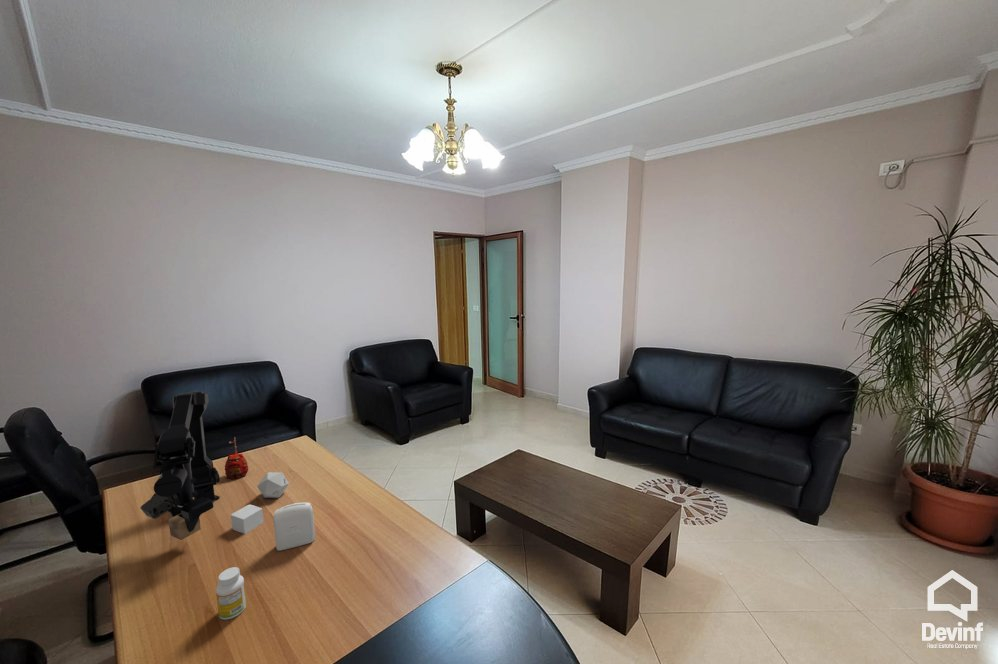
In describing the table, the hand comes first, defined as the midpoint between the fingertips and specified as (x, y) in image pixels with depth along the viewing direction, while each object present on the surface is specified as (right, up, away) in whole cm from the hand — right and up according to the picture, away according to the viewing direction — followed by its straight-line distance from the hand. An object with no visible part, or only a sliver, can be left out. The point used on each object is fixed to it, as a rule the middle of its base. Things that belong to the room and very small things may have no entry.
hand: (185, 528), depth 109 cm
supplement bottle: (+28, -9, -20) cm, 36 cm away
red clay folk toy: (-13, 0, +41) cm, 42 cm away
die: (+10, -2, +27) cm, 29 cm away
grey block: (+11, -4, +10) cm, 16 cm away
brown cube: (0, -1, 0) cm, 1 cm away
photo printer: (+31, -6, +2) cm, 31 cm away
